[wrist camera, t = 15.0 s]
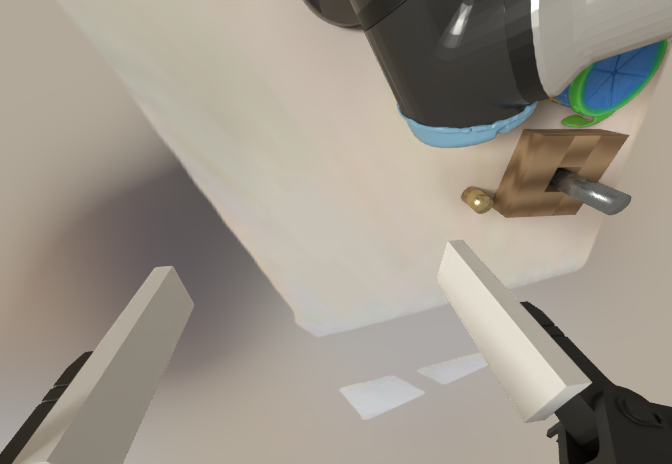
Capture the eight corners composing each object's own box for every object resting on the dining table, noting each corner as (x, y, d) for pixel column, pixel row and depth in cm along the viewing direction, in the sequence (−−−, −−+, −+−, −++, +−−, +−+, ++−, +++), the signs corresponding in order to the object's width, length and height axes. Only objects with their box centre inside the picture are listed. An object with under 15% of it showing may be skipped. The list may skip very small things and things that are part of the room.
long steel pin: (537, 162, 49) (616, 194, 36) (553, 161, 49) (636, 194, 37) (529, 178, 51) (600, 215, 38) (544, 178, 51) (620, 214, 39)
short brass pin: (464, 186, 50) (478, 197, 46) (480, 186, 50) (496, 197, 46) (459, 202, 52) (472, 213, 48) (474, 201, 53) (489, 213, 48)
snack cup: (575, 109, 44) (639, 120, 35) (516, 129, 44) (565, 145, 36) (604, -5, 35) (699, -27, 26) (530, 23, 35) (599, 10, 27)
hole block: (523, 129, 44) (546, 136, 40) (600, 129, 46) (629, 135, 42) (490, 205, 54) (506, 217, 50) (555, 203, 55) (575, 214, 51)
